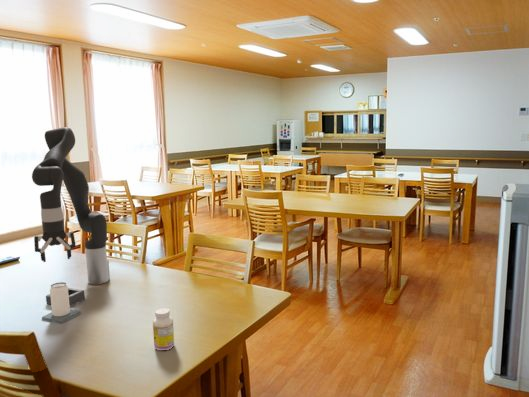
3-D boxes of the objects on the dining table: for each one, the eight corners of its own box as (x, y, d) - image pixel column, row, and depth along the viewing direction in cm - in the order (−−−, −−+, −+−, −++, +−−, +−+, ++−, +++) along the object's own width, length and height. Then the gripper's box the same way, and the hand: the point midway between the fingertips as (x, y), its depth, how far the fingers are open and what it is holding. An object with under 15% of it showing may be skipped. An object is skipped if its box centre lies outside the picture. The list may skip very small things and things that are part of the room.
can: (63, 317, 179) (60, 288, 177) (48, 316, 180) (45, 287, 178) (73, 311, 185) (70, 282, 183) (59, 310, 186) (56, 281, 184)
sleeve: (66, 295, 204) (65, 287, 204) (84, 299, 200) (84, 290, 200) (46, 304, 195) (45, 295, 194) (65, 308, 191) (65, 299, 190)
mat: (62, 309, 189) (61, 307, 189) (81, 313, 185) (80, 310, 185) (42, 319, 180) (41, 317, 180) (61, 323, 176) (61, 320, 176)
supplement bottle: (156, 342, 159) (153, 307, 157) (175, 341, 160) (173, 306, 158) (153, 352, 153) (150, 315, 150) (173, 351, 153) (171, 314, 151)
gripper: (31, 223, 170) (35, 265, 173) (72, 219, 175) (76, 260, 178) (32, 219, 177) (37, 260, 180) (72, 215, 182) (76, 255, 185)
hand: (56, 260), depth 179 cm, fingers open, 8 cm apart
